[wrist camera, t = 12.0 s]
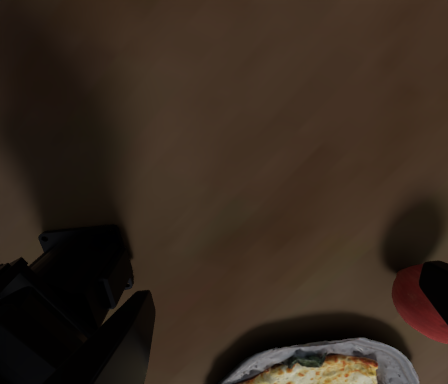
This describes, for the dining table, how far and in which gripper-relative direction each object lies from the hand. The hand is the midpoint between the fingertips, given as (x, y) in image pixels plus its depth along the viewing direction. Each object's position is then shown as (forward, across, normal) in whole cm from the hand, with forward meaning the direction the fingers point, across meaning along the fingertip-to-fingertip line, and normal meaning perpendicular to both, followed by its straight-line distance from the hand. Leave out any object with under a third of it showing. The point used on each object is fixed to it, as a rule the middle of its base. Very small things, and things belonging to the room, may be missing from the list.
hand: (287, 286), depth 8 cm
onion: (+12, -15, +11) cm, 22 cm away
